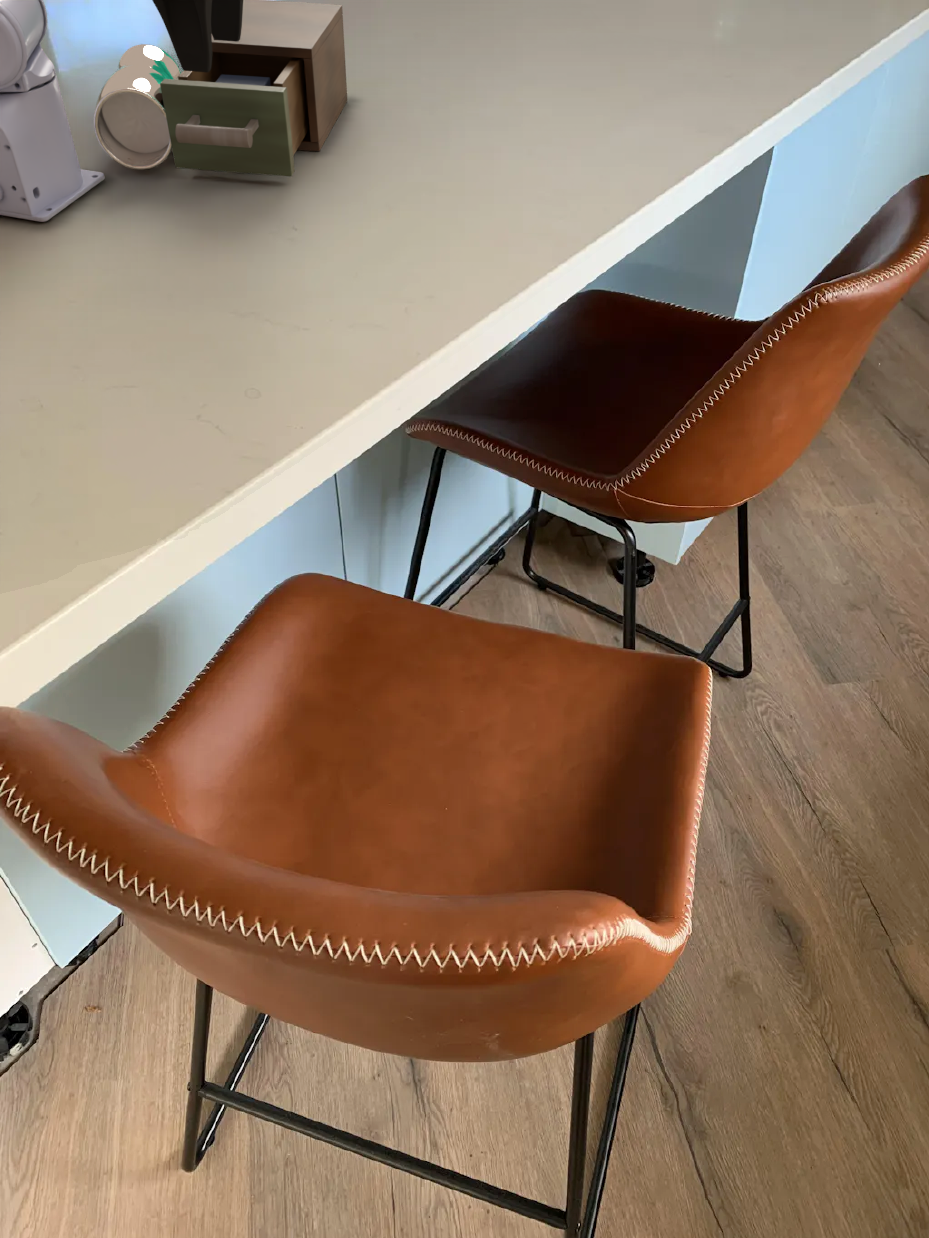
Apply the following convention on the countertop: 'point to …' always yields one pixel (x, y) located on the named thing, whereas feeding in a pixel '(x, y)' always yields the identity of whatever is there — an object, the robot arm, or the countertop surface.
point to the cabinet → (300, 53)
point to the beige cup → (136, 109)
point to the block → (244, 80)
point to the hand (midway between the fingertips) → (212, 54)
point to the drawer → (238, 115)
